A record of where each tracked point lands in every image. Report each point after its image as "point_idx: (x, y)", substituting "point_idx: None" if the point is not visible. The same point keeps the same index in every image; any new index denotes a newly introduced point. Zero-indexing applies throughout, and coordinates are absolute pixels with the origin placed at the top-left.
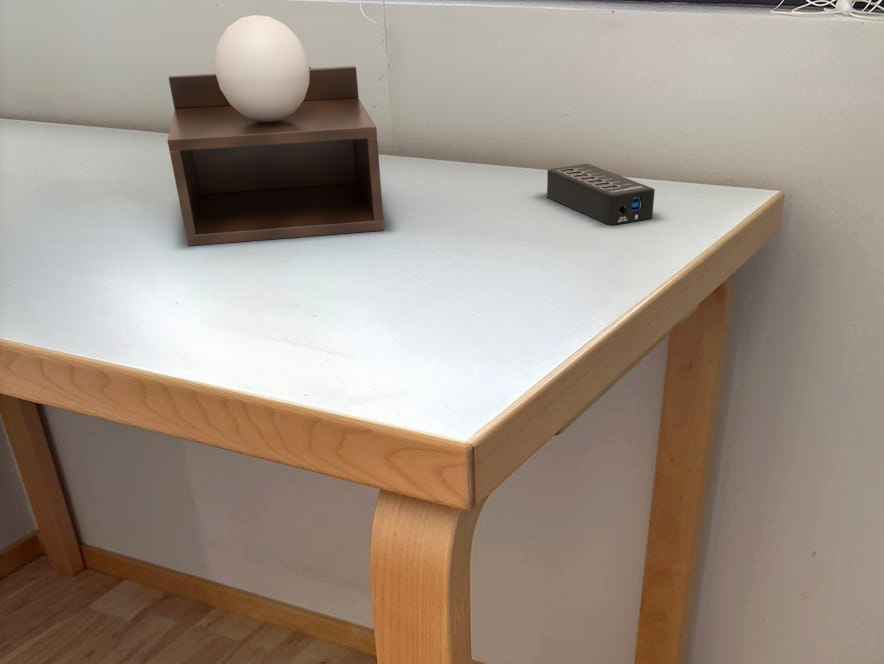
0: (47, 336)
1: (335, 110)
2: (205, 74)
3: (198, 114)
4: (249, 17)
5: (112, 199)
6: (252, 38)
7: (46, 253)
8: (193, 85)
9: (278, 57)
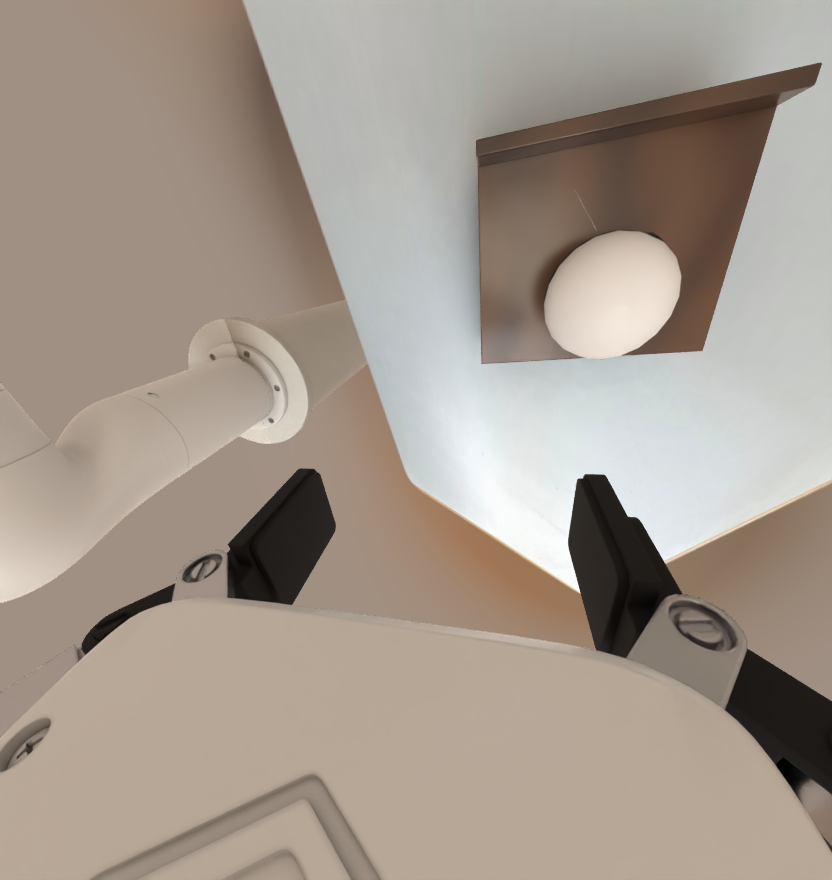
0: (424, 479)
1: (693, 229)
2: (531, 134)
3: (509, 221)
4: (615, 316)
5: (393, 145)
6: (602, 351)
7: (383, 340)
8: (509, 153)
9: (625, 353)
